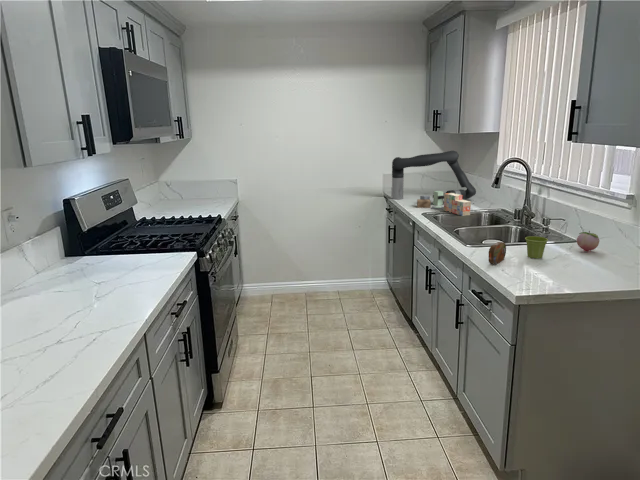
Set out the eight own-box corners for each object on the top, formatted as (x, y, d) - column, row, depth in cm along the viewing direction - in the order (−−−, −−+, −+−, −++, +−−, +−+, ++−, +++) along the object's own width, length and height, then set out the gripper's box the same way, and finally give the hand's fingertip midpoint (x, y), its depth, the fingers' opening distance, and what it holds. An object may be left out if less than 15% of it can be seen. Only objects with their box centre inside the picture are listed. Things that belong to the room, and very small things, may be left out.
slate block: (424, 204, 332) (424, 196, 330) (420, 203, 336) (420, 195, 335) (429, 203, 334) (429, 196, 333) (425, 202, 338) (425, 195, 337)
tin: (493, 266, 189) (495, 248, 187) (486, 265, 191) (487, 246, 189) (506, 258, 200) (507, 240, 198) (499, 257, 202) (500, 239, 200)
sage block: (437, 205, 326) (438, 192, 323) (433, 204, 330) (433, 191, 328) (442, 204, 328) (443, 191, 326) (438, 203, 333) (438, 190, 330)
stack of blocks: (470, 215, 291) (471, 196, 288) (462, 216, 289) (463, 197, 286) (450, 209, 311) (451, 192, 308) (443, 210, 309) (444, 193, 306)
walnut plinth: (417, 208, 320) (417, 201, 319) (417, 205, 329) (417, 199, 327) (430, 208, 319) (430, 201, 317) (429, 205, 327) (429, 199, 326)
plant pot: (518, 255, 204) (520, 237, 202) (536, 253, 206) (538, 235, 204) (532, 261, 195) (534, 242, 193) (550, 258, 197) (553, 240, 195)
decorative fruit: (601, 252, 205) (604, 231, 202) (592, 255, 201) (595, 234, 198) (581, 247, 213) (583, 227, 210) (572, 250, 208) (574, 230, 206)
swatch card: (431, 208, 315) (431, 207, 315) (431, 207, 321) (432, 206, 321) (444, 209, 312) (444, 208, 312) (444, 207, 318) (444, 206, 318)
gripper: (446, 188, 339) (429, 191, 332) (460, 191, 327) (442, 193, 319) (446, 198, 341) (428, 200, 334) (459, 201, 328) (441, 203, 321)
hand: (435, 197), depth 327 cm, fingers closed on sage block, 5 cm apart
